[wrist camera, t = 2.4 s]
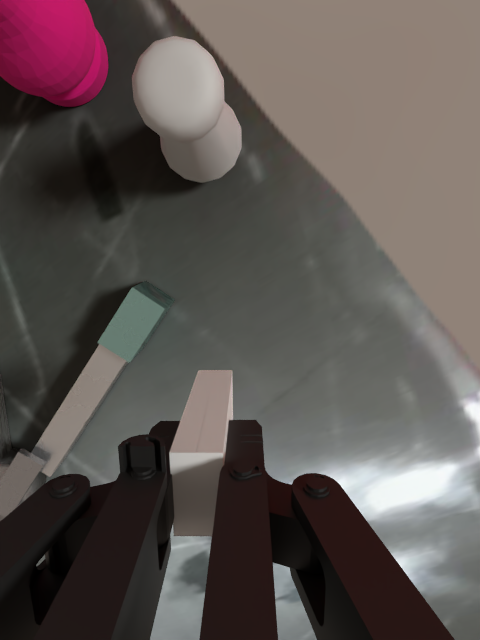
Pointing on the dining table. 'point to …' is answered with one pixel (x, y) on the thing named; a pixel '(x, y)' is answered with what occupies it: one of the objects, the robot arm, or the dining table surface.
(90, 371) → the tongs jaw
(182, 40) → the salt shaker
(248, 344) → the dining table surface
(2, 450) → the tongs fixed
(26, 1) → the pepper mill
